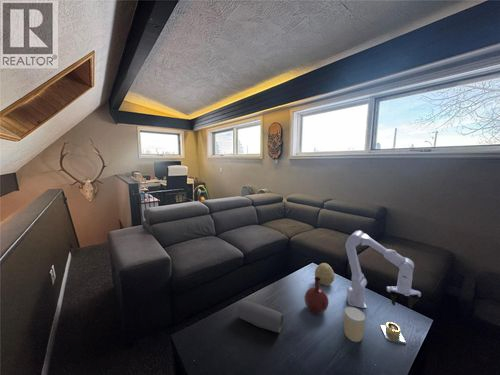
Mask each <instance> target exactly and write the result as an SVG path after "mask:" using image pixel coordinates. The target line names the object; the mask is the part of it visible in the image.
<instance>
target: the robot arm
mask: <svg viewBox="0 0 500 375" xmlns="http://www.w3.org/2000/svg"><path fill="white" fill-rule="evenodd" d="M359 245H361V246H369V247H371V249H374V250H376V251H377V252H379V253H380V254H383V258H384V259H386V260H387V261H388V262H390V263H392V264H393V265H395V266H396V267H397V268H398V269H399V271H398V273H397V274H398V275H397V283H396V286H386V291H387V292H388V293H389V295H390V299H391V304H392V306H395V305H396V301H397V300H396V299H397V297H398V296H397V293H398V294H402V295H403V296H405V297H406V296H407V297H408V304H407V305H408V307H409V308H410V309H412V308H414V305H415V304H416V303H417V302H418V301H419V300H420V297H421V296H422V293H421V292H420V291H419V290H415V289H413V288H412V284H413V283H412V282H413V277H414V276H413V275H414V268H415V263H414V261H413V260H412V259H411V258H409V257H405V256H402V255H401V254H399V253H398V252H397V251H396V250H395V249H391V248H386V247H384V246H383V245H381V244H380V243H379V242H377V241H376V240H374V239H373V238H371V236H369V235H368V234H367V233H364V231H362V230H360V229H359V230H355V231H354V232H353V233H352V234H350V235H349V236H348V237H347V240H346V242H345V246H344V247H345V250H346V254H347V258H348V262H349V267H350V270H351V284H350V286H347V288H346V289H347V290H346V300H347V303H348V306H349V307H355V308H363V309H367V308H368V307H367V304H366V303H365V302H366V292H367V291H366V286H367V284H368V281H367V278H366V277H365V275H364V273H363V272H362V269H361V264H360V261H359V257H358V254H357V249H356V247H357V246H359Z"/></svg>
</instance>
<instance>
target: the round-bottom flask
mask: <svg viewBox="0 0 500 375" xmlns="http://www.w3.org/2000/svg"><path fill="white" fill-rule="evenodd" d="M320 285H321V284H320V278H319V277H314V286H313V287H310V288H308V289H307V290H306V291H305V293H304V304H305V306H306V308H307V309H308V310H309V311H310V312H312V313H314V314H323V313H324V312H326V311H327V310H328V308H329V304H330V303H329V302H330V301H329V297H328V295H327V293H326V292H325V291H324V290H323V289H322V288H320Z"/></svg>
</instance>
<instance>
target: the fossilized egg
mask: <svg viewBox="0 0 500 375" xmlns="http://www.w3.org/2000/svg"><path fill="white" fill-rule="evenodd" d="M314 276H315V277H319V278H320V285H321V286H330V285H332V283H333V282H334V281H335V272H334V270H333V268H332V267H331V266H330V265H329V264H328V263H326V262H322V263H320V264H318V265H317V266H316V268H315V270H314ZM315 277H314V278H315Z"/></svg>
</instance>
